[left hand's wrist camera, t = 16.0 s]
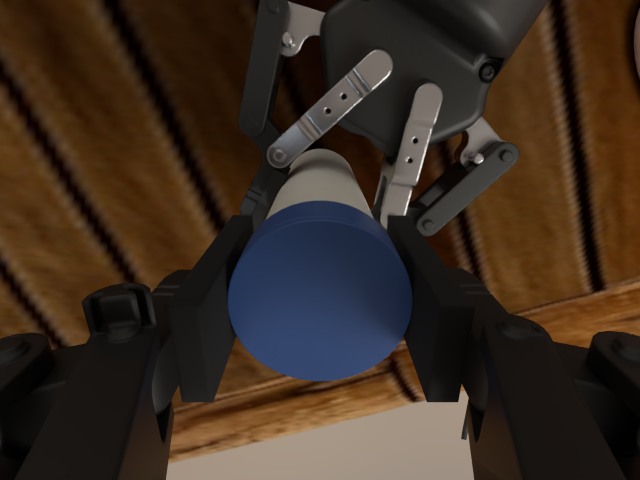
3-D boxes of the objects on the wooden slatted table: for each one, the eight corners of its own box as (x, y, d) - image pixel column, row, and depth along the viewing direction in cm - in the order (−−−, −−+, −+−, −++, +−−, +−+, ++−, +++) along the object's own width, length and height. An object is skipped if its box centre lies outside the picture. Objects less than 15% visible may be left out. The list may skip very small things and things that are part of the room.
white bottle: (330, 227, 26) (344, 384, 12) (273, 194, 25) (212, 320, 11) (367, 172, 25) (434, 273, 10) (308, 134, 24) (289, 189, 9)
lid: (425, 229, 11) (445, 254, 10) (365, 357, 13) (372, 398, 11) (264, 177, 11) (253, 193, 9) (225, 319, 13) (209, 356, 11)
